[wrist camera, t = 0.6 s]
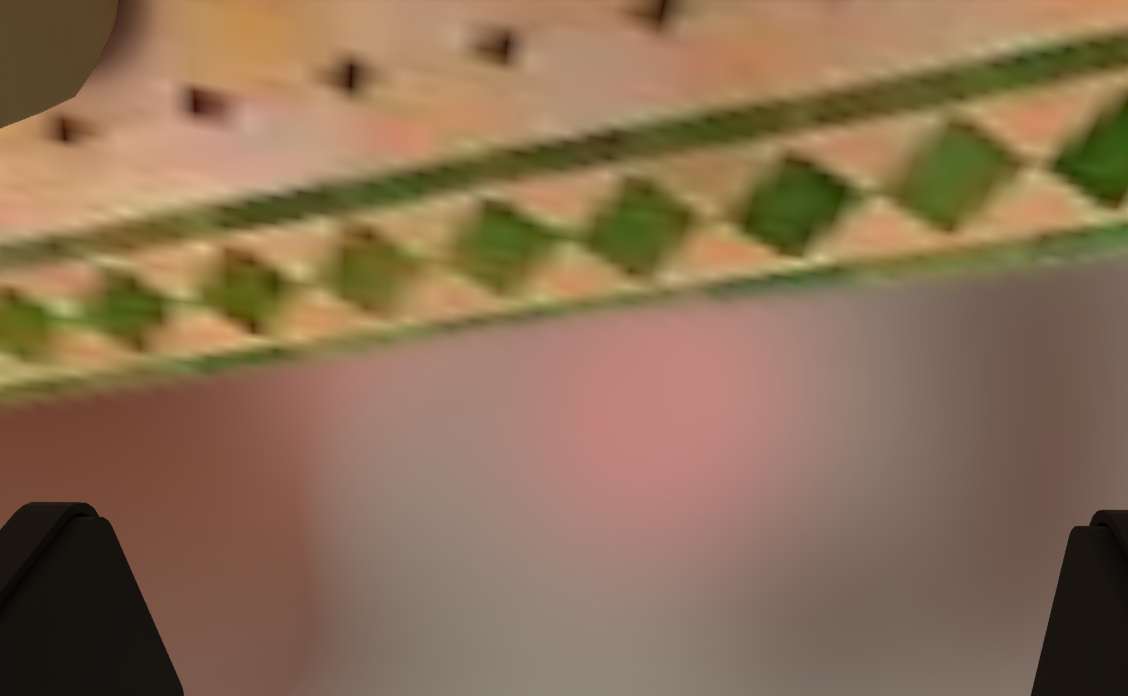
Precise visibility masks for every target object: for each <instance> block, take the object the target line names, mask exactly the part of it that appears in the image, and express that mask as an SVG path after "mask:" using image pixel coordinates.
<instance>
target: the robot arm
mask: <svg viewBox="0 0 1128 696" xmlns="http://www.w3.org/2000/svg"><path fill="white" fill-rule="evenodd" d="M0 696H184V692H183V688H182V685H181V683H180V681H179V678H178V676H177V674H176V671H175V669H174V667H173V665H172V662H171V660H170V658H169V655H168V653H167V651H166V649H165V646H164V644H163V642H162V639H161V637H160V635H159V633H158V630H157V628H156V626H155V623H154V621H153V619H152V617H151V614H150V612H149V610H148V607H147V605H146V603H145V601H144V598H143V596H142V594H141V591H140V589H139V587H138V585H137V582H136V580H135V578H134V575H133V573H132V571H131V569H130V566H129V564H128V562H127V559H126V557H125V555H124V553H123V550H122V548H121V546H120V543H119V541H118V539H117V537H116V534H115V532H114V530H113V527H112V526H111V524H110V522H109V521H108V520H107V519H105V518H104V517H99V515H98V514H97V512H96V511H95V509H94V508H93V507H92V506H90V505H89V504H87V503H80V502H31V503H28V504H26V505H24V506H22V507H21V508H20V509H19V510H17V511H16V512H15V513H14V514H13V516H12V517H11V518H10V519H9V520H8V522H7V523H6V524H5V525H4V526H3V527H2V528H1V530H0ZM1031 696H1128V510H1100V511H1097V512H1096V513H1095V514H1094V516H1093V517H1092V520H1091V522H1090V525H1089V526H1075V527H1074V528H1073V529H1072V530H1071V533H1070V535H1069V539H1068V543H1067V547H1066V551H1065V555H1064V559H1063V564H1062V568H1061V572H1060V576H1059V581H1058V584H1057V589H1056V593H1055V597H1054V601H1053V605H1052V609H1051V614H1050V618H1049V622H1048V626H1047V631H1046V635H1045V639H1044V643H1043V647H1042V651H1041V655H1040V659H1039V664H1038V668H1037V672H1036V676H1035V680H1034V685H1033V689H1032V693H1031Z"/></svg>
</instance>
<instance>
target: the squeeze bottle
mask: <svg viewBox="0 0 1128 696" xmlns="http://www.w3.org/2000/svg"><path fill="white" fill-rule="evenodd" d="M118 3H119V0H0V128H3V127H5V126H8V125H10V124H13V123H15V122H18V121H21V120H23V119H26V118H28V117H31V116H34V115H36V114H39V113H41V112H43V111H45V110H48V109H50V108H52V107H54V106H56V105H58V104H60V103H62V102H64V101H66V100H69V99H71V98H73V97H75V96H76V94H77V93H78V92H79V90H80V89H81V87H82V86H83V84H84V83H85V81H86V80H87V78H88V77H89V75H90V74H91V72H92V71H93V69H94V68H95V67H96V65H97V63H98V61H99V58H100V56H101V54H102V52H103V49H104V47H105V45H106V43H107V41H108V38H109V36H110V34H111V32H112V29H113V27H114V25H115V23H116V18H117V11H118Z"/></svg>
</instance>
